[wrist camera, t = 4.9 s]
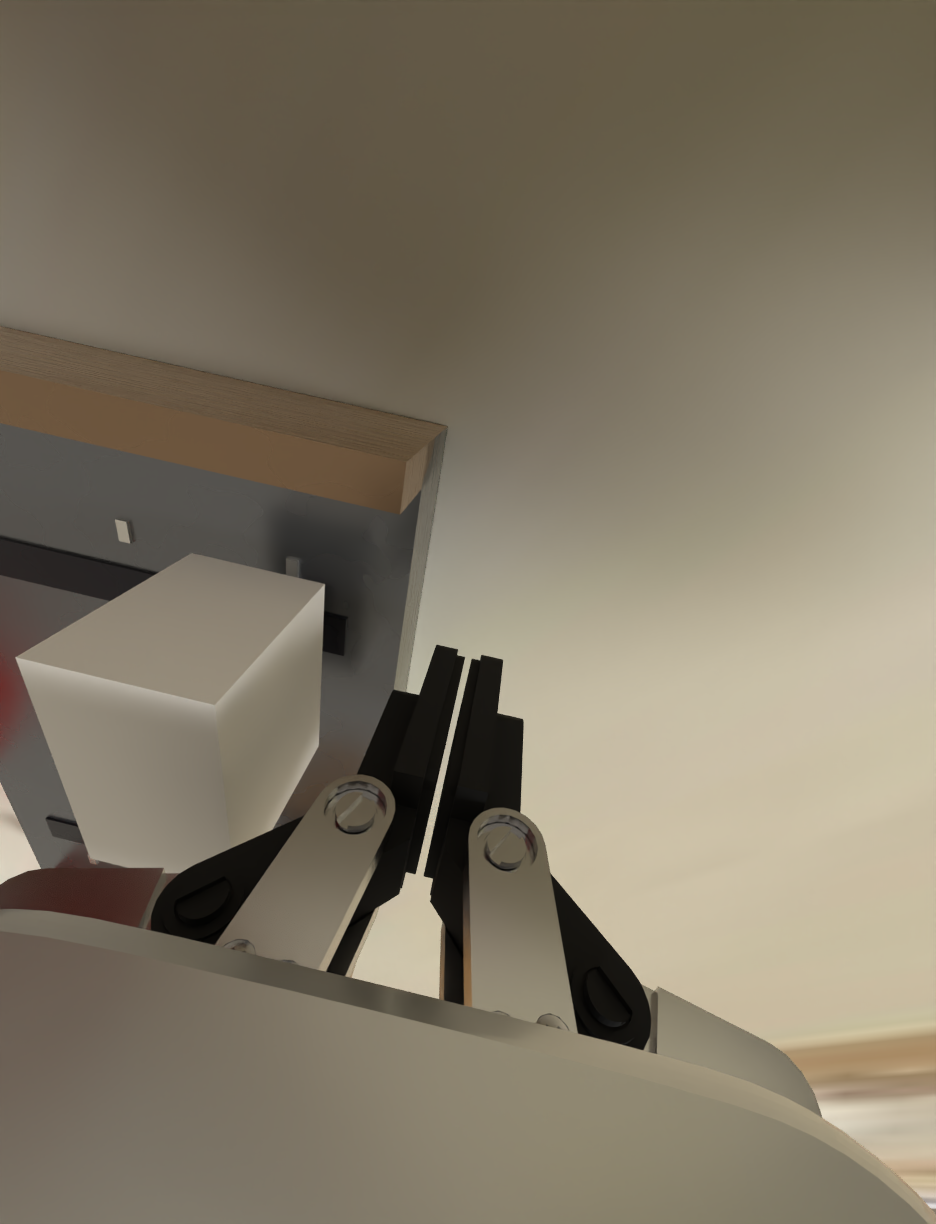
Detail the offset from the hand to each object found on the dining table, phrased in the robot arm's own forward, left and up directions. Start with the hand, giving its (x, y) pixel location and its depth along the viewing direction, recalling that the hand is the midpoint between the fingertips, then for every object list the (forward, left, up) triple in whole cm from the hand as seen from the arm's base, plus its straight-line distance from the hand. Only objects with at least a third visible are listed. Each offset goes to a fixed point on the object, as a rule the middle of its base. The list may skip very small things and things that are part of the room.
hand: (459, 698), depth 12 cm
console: (+9, +6, -4) cm, 12 cm away
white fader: (+5, 0, -1) cm, 5 cm away
